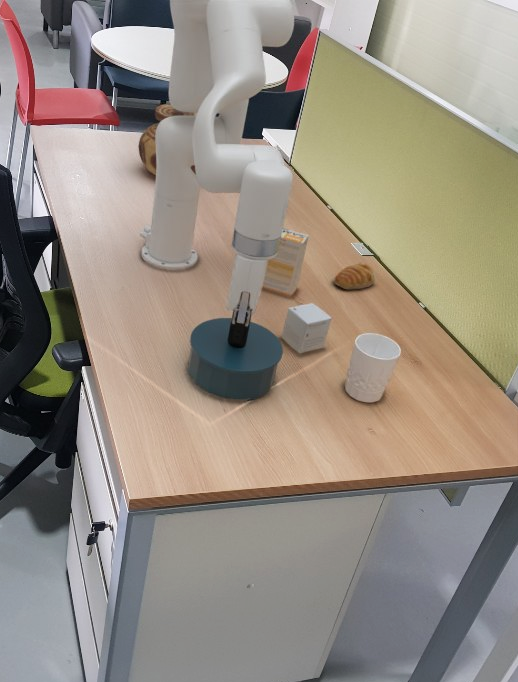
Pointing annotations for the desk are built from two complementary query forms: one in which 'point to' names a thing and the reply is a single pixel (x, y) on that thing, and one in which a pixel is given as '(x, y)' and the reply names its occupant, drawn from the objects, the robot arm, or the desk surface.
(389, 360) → the white cup
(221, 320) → the pot lid
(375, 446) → the desk surface
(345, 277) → the pastry
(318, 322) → the product box
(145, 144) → the clay pot
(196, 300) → the desk surface
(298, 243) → the supplement box
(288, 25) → the robot arm
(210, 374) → the pot
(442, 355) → the desk surface
